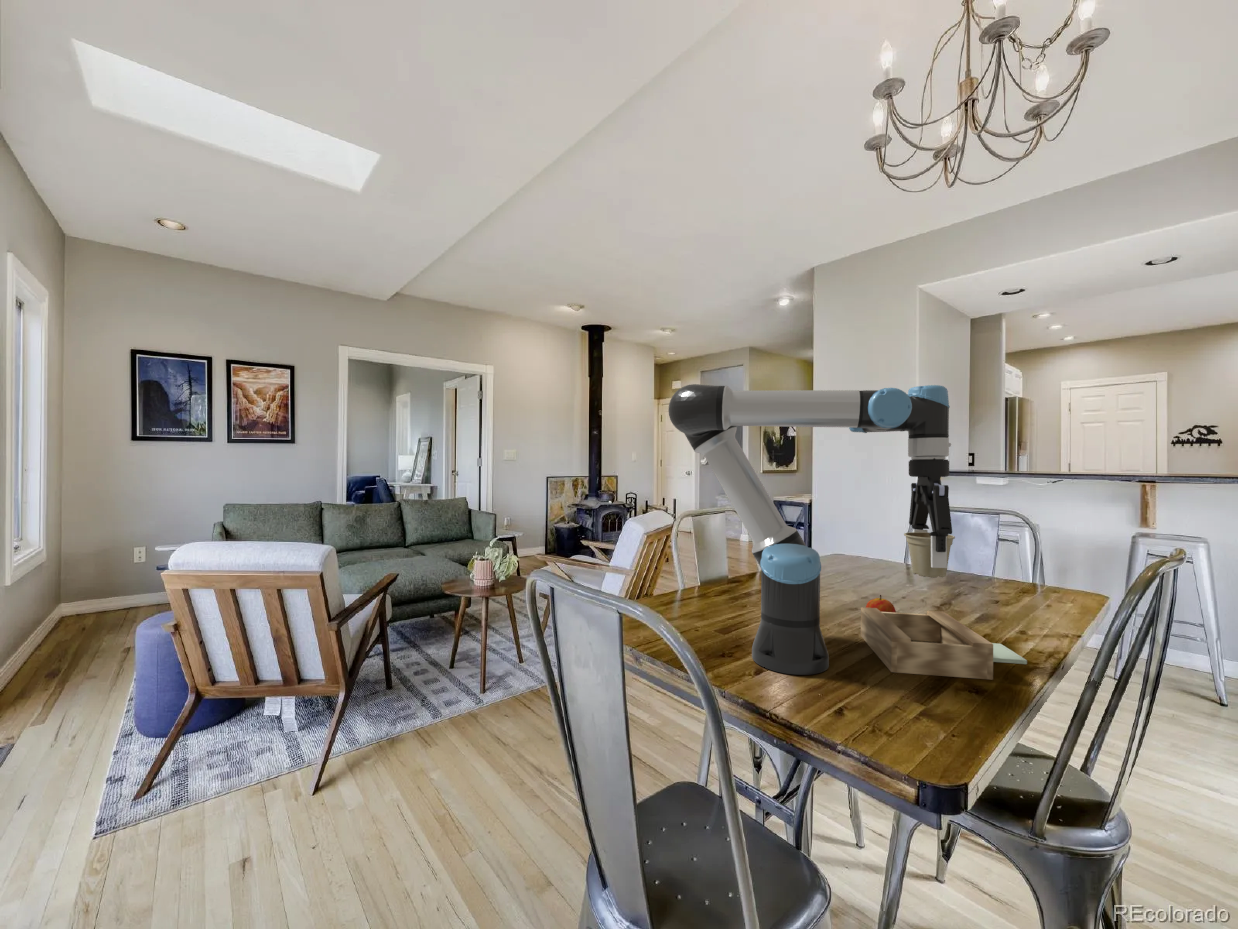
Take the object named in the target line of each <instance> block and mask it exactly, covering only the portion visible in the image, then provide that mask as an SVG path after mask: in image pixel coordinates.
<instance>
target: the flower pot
mask: <svg viewBox="0 0 1238 929" xmlns="http://www.w3.org/2000/svg"><path fill="white" fill-rule="evenodd" d="M930 533H931V532H929V531H928V532H913V531H912V532H909V531H908V532H904V533H903V535H904V536H905V538H906V543H907V544H908V551H909V558H910V564H911V572H912V574H913V575H918V576H920V577H923V578H932V579H933V578H938V577H939V578H945V577H947V571H948V567H947V568H932V567H931V536H930V535H929V534H930ZM954 539H956V536H954V535H953V534H948V536H947V566H948V564H949V559H950V553H951V547H952V545H953V543H954V542H953V541H954Z"/></svg>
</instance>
